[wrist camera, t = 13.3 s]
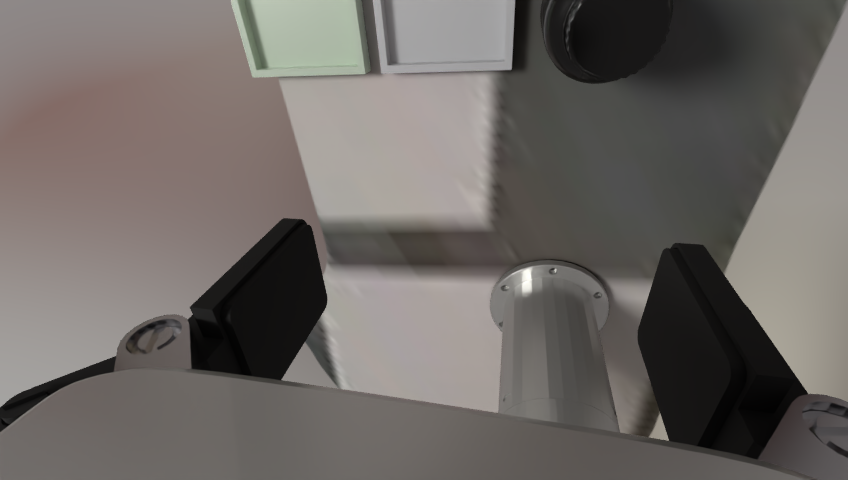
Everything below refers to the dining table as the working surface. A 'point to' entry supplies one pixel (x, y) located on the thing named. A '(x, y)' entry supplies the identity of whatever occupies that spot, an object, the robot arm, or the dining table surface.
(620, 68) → the supplement bottle
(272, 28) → the tray green
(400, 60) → the tray grey
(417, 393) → the dining table surface
